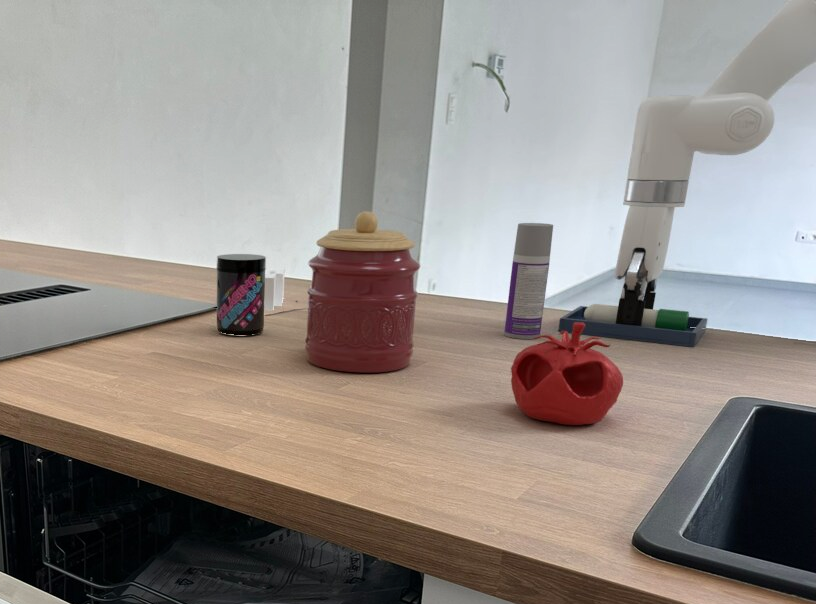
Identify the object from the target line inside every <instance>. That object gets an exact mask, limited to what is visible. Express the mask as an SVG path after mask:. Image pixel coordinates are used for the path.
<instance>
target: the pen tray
mask: <svg viewBox="0 0 816 604" xmlns="http://www.w3.org/2000/svg"><path fill="white" fill-rule="evenodd" d="M587 307H588V306H587V305H586V306H585V305H579V306H577V307H576V308H574V309H573V310H571V311H569V312H567V314H565V315H563V316H562V317H560V318H559V323H558V332H560V333H561V332H562V331H567V332H568V334H569V333H570V334H572V332H573V324H574V322H577V323H578V322H580V323H582V322H583V323H584V324H585V328H584V329H583V331H582V333H581V335H585V336H592V337H601V338H609V339H610V338H611V339H618V340H619V339H620V340H629V341H635V342H636V341H637V342H646V343H655V344H662V345H663V344H664V345H671V346H679V347H689V348H694V347H696V345H697V343H698V342H699V341H700V339H701V338H702V337H703V336H704V334H705V333H706V329H707V324H708V318H707V317H704V318H703V317H695V316H689V318H688V324H687V328H686V331H680V330H671V329H661V328H652V327H643V326H634V325H624V324H615V323H606V322H596V321H587V320H585V318H584V312H585V310H586V308H587ZM690 327H696V328H690ZM702 328H706V329H702Z"/></svg>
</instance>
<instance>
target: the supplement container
mask: <svg viewBox="0 0 816 604" xmlns="http://www.w3.org/2000/svg"><path fill="white" fill-rule="evenodd" d="M266 264H267V257H266V256H265V255H262V254H252V253H228V254H227V253H226V254H220V255H217V256H216V268H215V269H216V306H217V308H216V330H217V332H218V333H219V332H222V333H226V334H234V335H252V334H258V333H260V334H262V332H263V331H264V329H265V316H264V302H265V274H266V269H267V266H266ZM258 335H259V334H258Z"/></svg>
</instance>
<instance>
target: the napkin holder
mask: <svg viewBox="0 0 816 604" xmlns="http://www.w3.org/2000/svg"><path fill="white" fill-rule="evenodd" d="M285 269H286V268H285V267H270V268H269V271H268V273H265V302H264V310H268V311H273V310H274V306H282V303H283V299H285Z"/></svg>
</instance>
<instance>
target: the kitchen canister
mask: <svg viewBox="0 0 816 604" xmlns="http://www.w3.org/2000/svg"><path fill="white" fill-rule="evenodd" d="M378 221H379V220H378V217H377V215H376V214H375V213H373V212H372V211H369V210H368V211H367V210H365V211H361V212H360V213H358V215H357V216H356V218H355V220H354V228H341V229H340V228H339V229H332V230H329V231H328V232H327V234H325V235H324V236H322V237H321V238H319V239H318V240H317V241H316V242H315V244H316V246H318V247H320V248H319V249H318V253H317V254H316V255H315V256H313V257H312V258H310V259H309V260H308V262H307V264H308V266H309V268H310V269H311V271H312V275H311V283H310V286H309V287H308V288H307V291H306V292H307V295H308V297H307V299H308V301H307V302H308V308H307V321H306V323H307V324H306V337H305V338H304V339H305V340H304V343H305V345H304V350H305V352H306V361H308V362H309V364H312V365H314V366H316V367H318V368H319V367H320V368H323V369H326V370H327V369H328V370H332V371H338V372H345V373H346V372H347V373H362V374H364V373H367V374H368V373H370V374H371V373H385V372H393V371H394V372H395V371H398V370H401V369H405V368H407V367H408V366H409V365H410V364H411V359H412V356H413V354H414V346H415V344H414V327H415V316H416V304H417V298H418V295H419V294H418V291H417V290H416V289H415V288H416V287H415V280H416V279H415V275H416V272H418V271H419V269H420V268H421V264H420V262H419V261H418V260H416V259H415V258H414V257H413V256H412V253H411V249H413V248H414V247H415V242H414V241H412V240H411V239H409V238H408V237H406V236H405V234H404V233H403V232H402V231H398V230H391V229H379V228H378V224H379V222H378Z"/></svg>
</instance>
